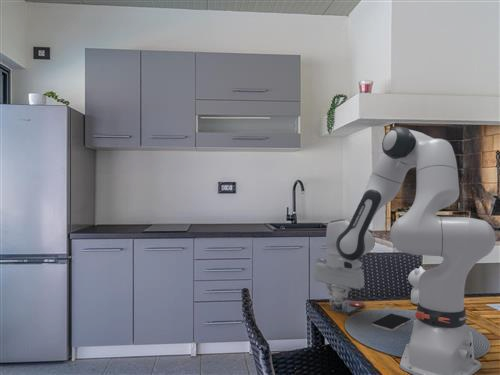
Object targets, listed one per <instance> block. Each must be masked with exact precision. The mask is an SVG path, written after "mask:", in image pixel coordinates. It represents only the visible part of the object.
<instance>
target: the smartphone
mask: <svg viewBox="0 0 500 375" xmlns="http://www.w3.org/2000/svg"><path fill="white" fill-rule="evenodd" d="M410 320H411V321H412V318H411V317H407V316H403V315H399V314H394V313H389V314H387V315H384V316H383V317H381V318H379V319H377V320H375V321H373V322H371V326H372V325H374V326H373V327H375V326H377V327H376V328H378V327H380V328H379V329H382V328H383V329H382V330H385V329H386V331H389V330H390V331H389V332H395V331H397V330H399V329H400V328H401V327H400V326H402V325H403V326H405V325H406V324H405V323H407V322H408V323H410V322H411V321H410ZM409 321H410V322H409ZM408 323H407V324H408ZM404 324H405V325H404ZM403 326H402V327H403ZM399 327H400V328H399ZM398 328H399V329H398ZM396 329H397V330H396Z"/></svg>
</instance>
